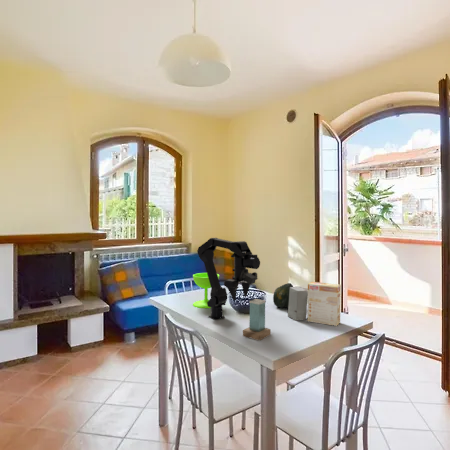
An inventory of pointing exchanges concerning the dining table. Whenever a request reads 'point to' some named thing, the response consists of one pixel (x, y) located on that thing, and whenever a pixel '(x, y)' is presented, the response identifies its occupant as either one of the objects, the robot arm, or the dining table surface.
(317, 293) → the coffeecake box
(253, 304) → the tea tin
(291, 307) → the skincare box
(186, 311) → the dining table surface
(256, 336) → the walnut block
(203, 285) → the wineglass
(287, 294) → the squash
